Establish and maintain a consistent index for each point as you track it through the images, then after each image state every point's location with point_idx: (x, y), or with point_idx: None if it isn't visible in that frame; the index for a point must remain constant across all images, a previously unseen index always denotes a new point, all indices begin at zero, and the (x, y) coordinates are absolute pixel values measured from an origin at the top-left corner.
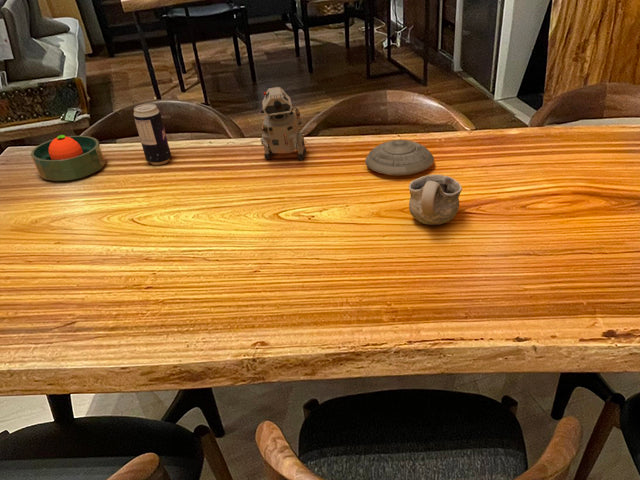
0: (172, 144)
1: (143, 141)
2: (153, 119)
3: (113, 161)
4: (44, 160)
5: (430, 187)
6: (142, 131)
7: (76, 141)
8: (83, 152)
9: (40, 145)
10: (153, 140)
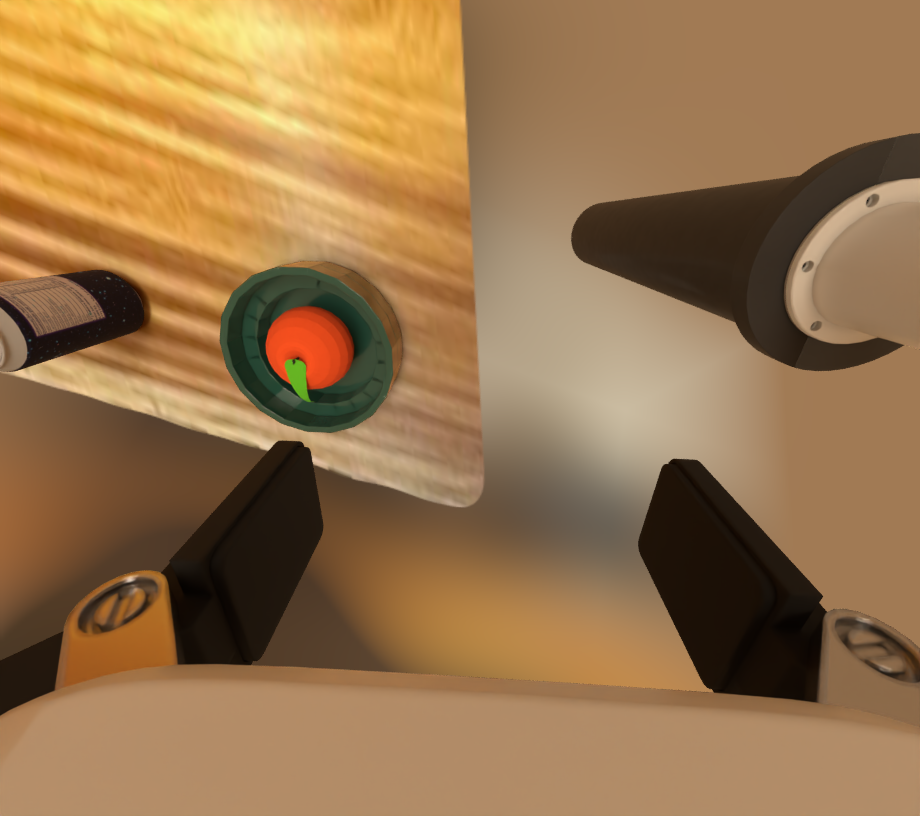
0: (119, 391)
1: (78, 292)
2: None
3: None
4: (347, 288)
5: None
6: (41, 292)
7: (269, 362)
8: None
9: (375, 402)
10: (41, 277)
